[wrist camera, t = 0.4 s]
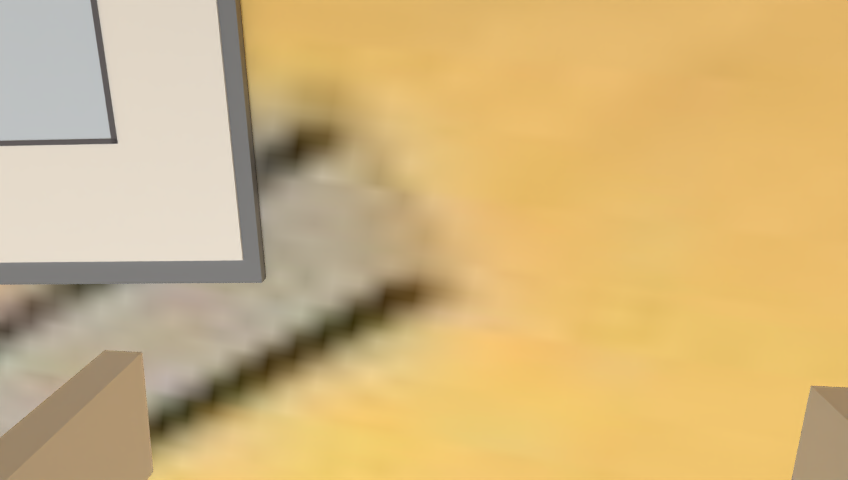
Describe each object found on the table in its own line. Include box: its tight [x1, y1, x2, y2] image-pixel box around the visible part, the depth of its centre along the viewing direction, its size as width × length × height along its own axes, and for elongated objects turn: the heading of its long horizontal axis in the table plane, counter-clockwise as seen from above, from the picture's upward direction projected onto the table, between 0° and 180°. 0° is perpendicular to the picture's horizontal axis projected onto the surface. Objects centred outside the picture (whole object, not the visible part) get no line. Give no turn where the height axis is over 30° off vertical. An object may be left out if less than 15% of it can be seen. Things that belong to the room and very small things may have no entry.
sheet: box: [0, 0, 266, 284], centre depth 38 cm, size 28×20×1 cm
